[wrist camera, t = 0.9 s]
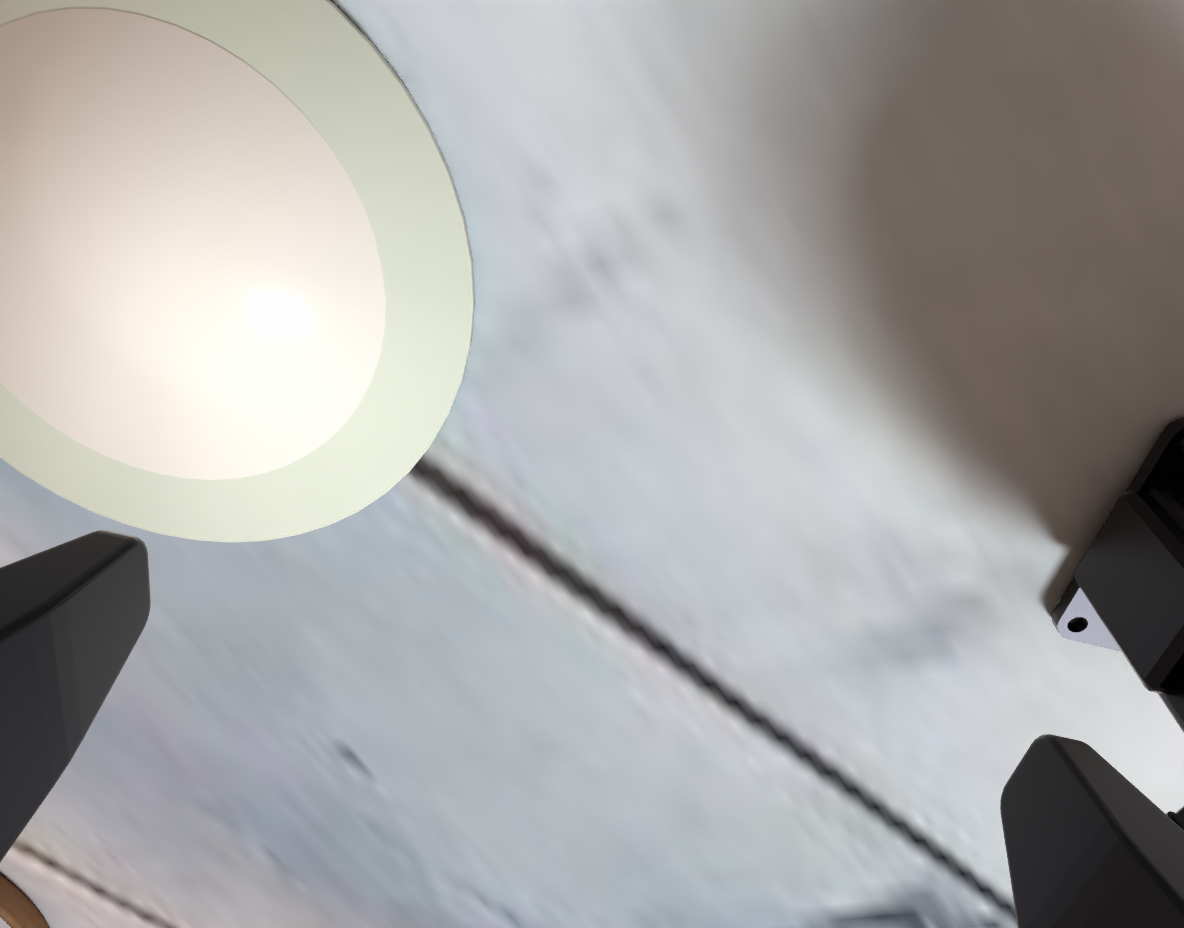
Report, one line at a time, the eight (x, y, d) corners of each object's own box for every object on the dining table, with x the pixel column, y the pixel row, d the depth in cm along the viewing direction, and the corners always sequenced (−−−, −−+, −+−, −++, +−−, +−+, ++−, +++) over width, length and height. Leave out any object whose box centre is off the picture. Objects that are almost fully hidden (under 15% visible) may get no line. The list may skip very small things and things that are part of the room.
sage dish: (525, -7, 18) (521, -6, 17) (434, 584, 25) (430, 594, 25) (-239, -193, 17) (-261, -197, 17) (-100, 466, 24) (-113, 475, 24)
